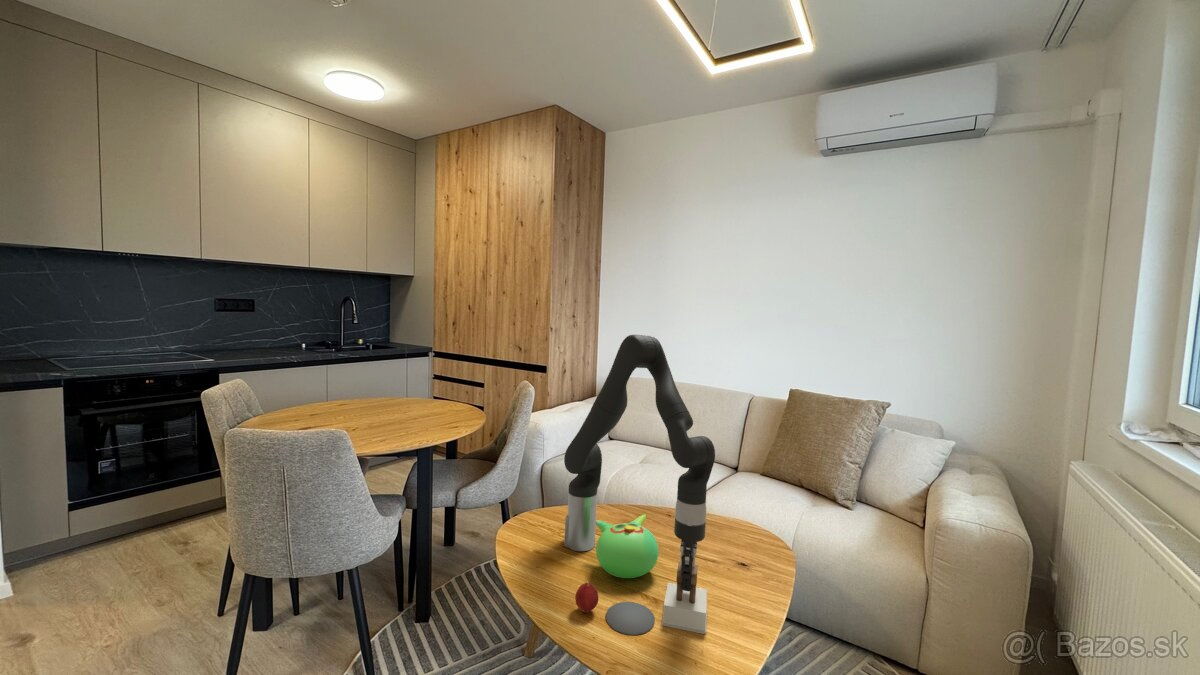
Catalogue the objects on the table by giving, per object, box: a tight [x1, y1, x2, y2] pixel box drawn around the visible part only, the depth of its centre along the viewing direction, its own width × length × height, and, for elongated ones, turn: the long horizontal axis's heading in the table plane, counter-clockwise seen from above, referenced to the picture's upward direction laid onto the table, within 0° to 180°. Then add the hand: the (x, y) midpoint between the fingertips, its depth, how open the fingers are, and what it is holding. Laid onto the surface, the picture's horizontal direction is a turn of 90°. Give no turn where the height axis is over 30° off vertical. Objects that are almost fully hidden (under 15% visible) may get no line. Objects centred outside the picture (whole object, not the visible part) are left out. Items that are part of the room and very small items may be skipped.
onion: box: [574, 580, 599, 614], centre depth 116 cm, size 6×6×8 cm
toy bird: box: [595, 513, 660, 579], centre depth 134 cm, size 18×17×15 cm
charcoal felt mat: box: [605, 601, 656, 636], centre depth 114 cm, size 12×12×1 cm
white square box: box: [661, 581, 708, 635], centre depth 116 cm, size 10×10×5 cm
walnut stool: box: [675, 561, 699, 604], centre depth 116 cm, size 5×5×7 cm
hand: (686, 583), depth 116 cm, fingers closed on walnut stool, 4 cm apart
